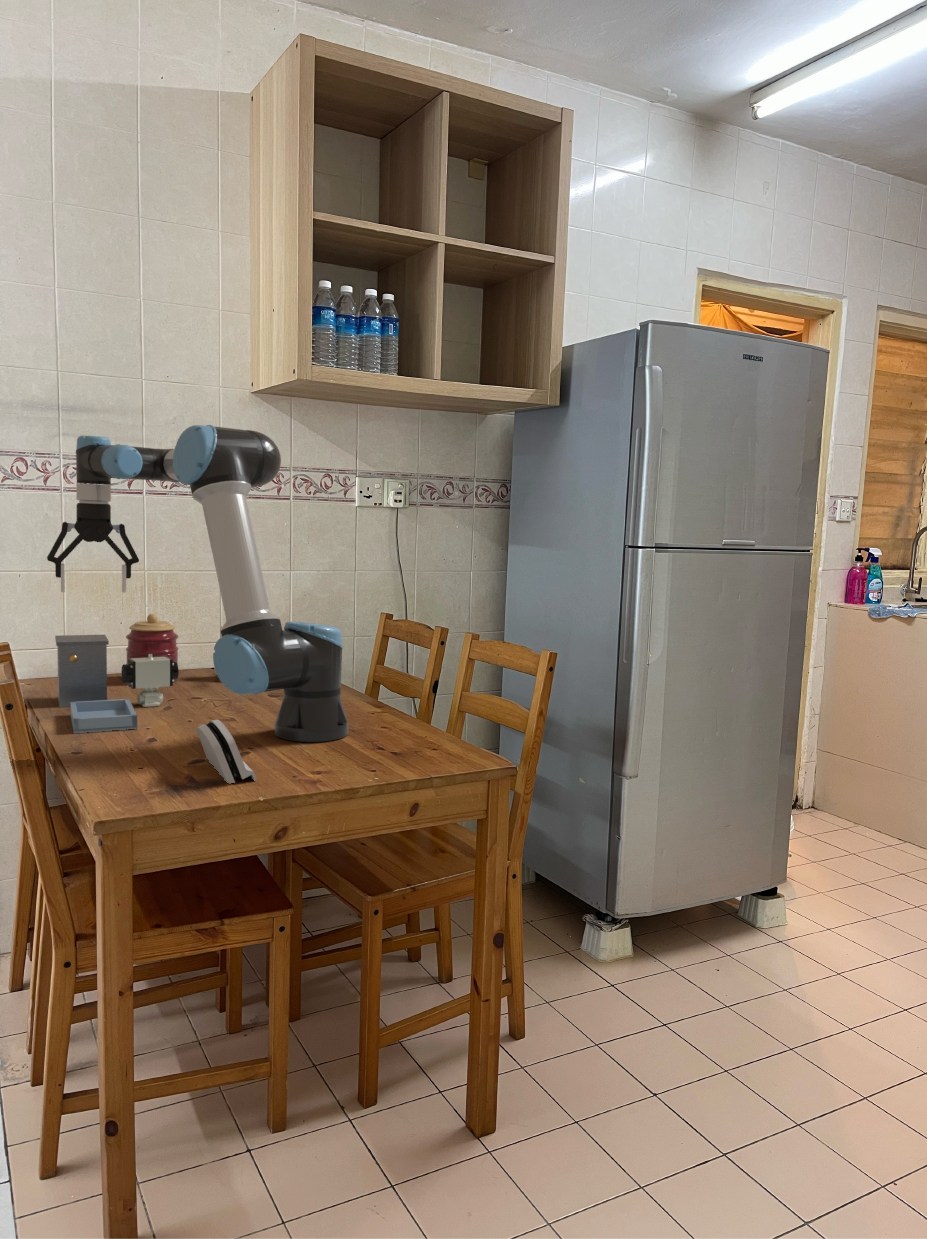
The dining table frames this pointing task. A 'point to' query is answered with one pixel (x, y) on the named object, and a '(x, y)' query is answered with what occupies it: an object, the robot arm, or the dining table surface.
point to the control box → (81, 668)
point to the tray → (102, 715)
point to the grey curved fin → (223, 751)
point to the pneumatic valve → (150, 677)
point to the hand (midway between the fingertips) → (93, 591)
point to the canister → (152, 639)
